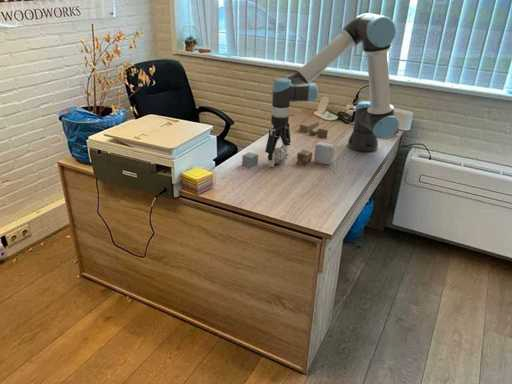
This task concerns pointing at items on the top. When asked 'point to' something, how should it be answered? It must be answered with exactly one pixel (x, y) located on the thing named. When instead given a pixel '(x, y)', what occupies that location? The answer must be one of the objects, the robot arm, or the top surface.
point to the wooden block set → (314, 128)
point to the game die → (279, 155)
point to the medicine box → (324, 153)
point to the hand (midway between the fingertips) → (277, 162)
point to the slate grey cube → (250, 160)
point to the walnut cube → (304, 157)
